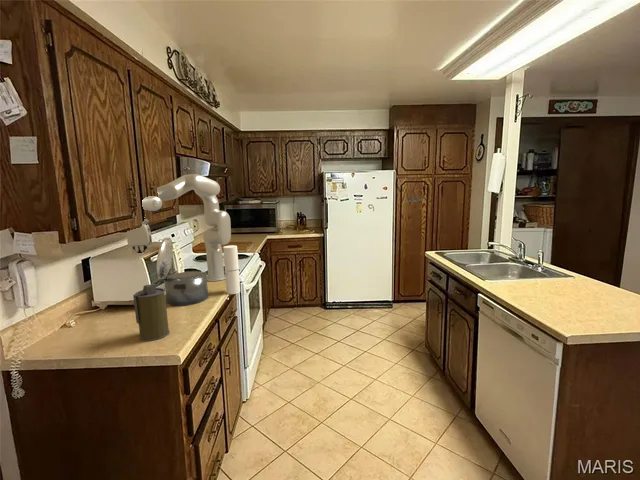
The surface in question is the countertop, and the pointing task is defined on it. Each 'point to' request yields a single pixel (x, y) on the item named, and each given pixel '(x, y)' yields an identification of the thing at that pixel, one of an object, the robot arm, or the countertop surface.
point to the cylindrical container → (231, 269)
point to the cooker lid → (164, 258)
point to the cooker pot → (186, 288)
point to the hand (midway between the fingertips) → (141, 259)
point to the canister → (151, 313)
